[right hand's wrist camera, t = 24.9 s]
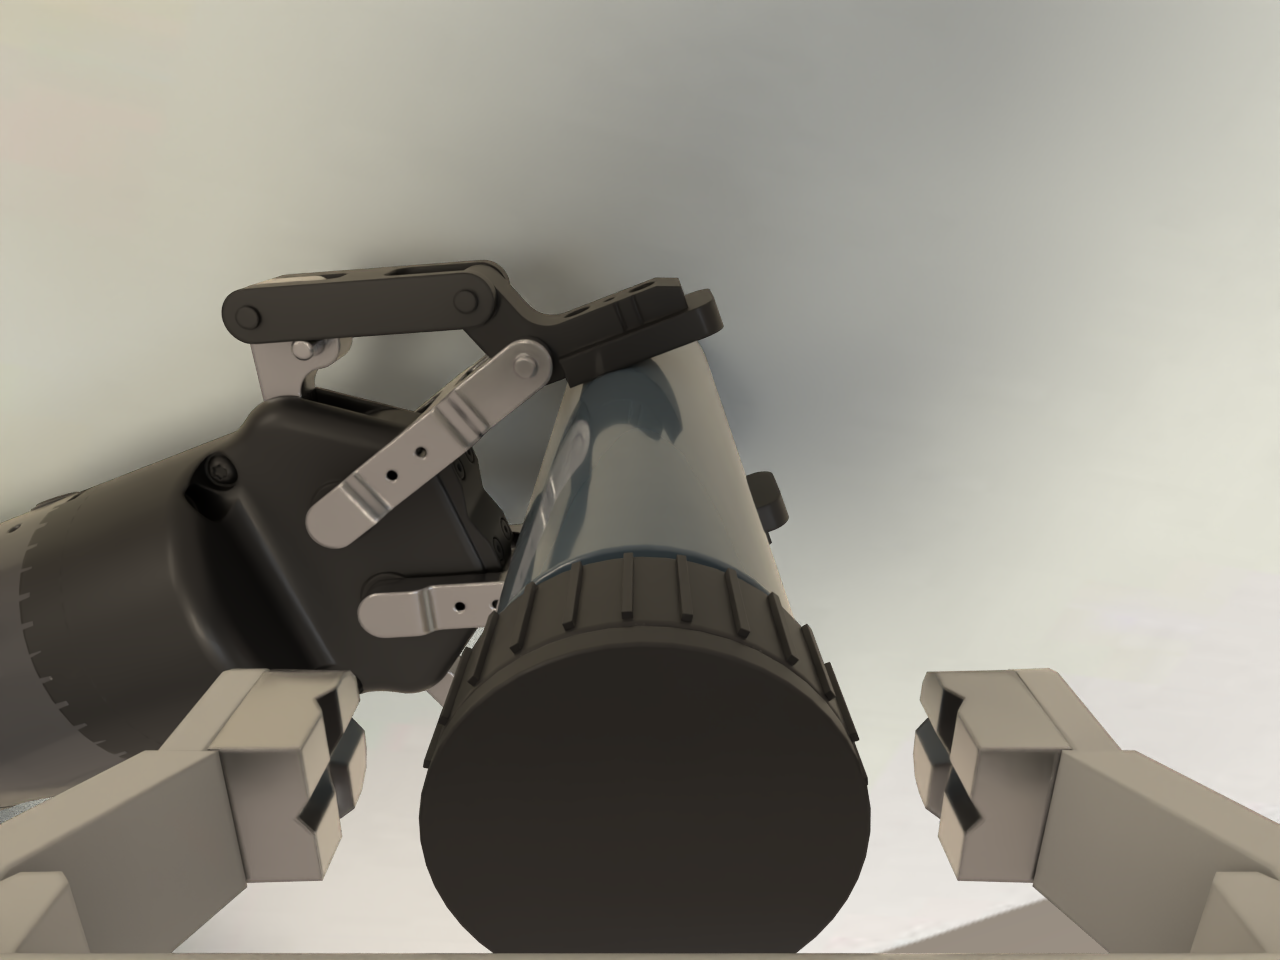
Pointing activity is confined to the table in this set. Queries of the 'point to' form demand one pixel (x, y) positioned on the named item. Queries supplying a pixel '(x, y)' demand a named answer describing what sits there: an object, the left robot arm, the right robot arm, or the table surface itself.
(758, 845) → the lid
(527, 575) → the blue-grey bottle
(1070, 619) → the table surface
